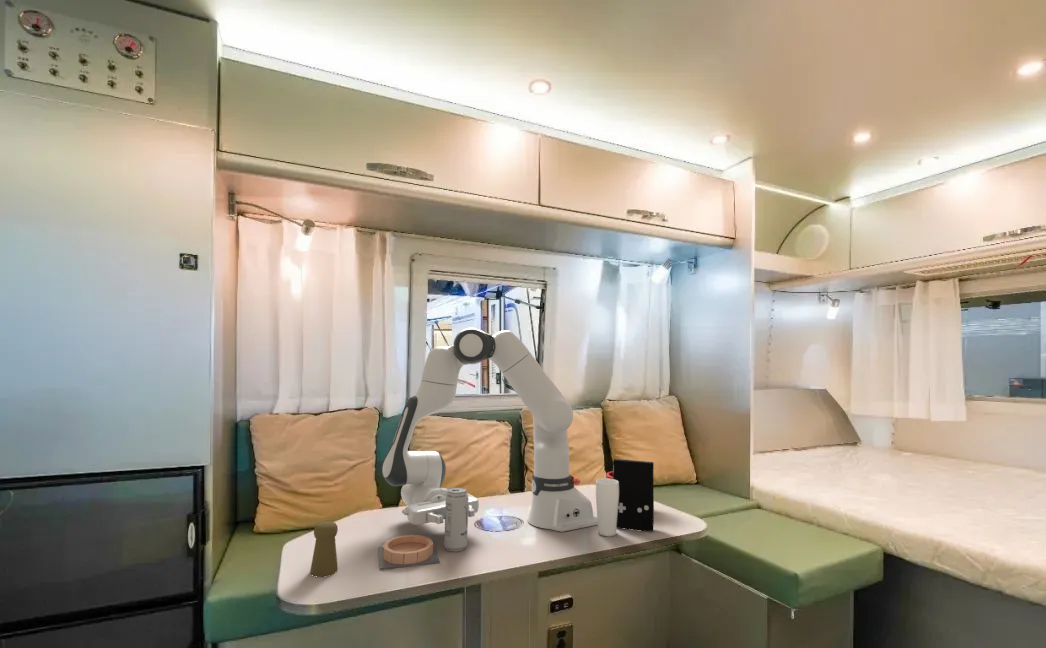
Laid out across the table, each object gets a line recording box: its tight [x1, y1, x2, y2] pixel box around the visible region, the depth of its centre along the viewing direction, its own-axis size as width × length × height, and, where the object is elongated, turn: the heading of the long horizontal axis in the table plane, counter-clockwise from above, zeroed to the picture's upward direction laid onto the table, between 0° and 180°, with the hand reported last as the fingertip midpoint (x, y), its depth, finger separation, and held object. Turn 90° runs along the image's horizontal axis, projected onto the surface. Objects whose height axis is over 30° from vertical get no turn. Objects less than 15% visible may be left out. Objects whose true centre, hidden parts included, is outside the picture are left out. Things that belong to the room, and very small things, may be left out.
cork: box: [309, 521, 339, 578], centre depth 112 cm, size 6×6×11 cm
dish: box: [377, 534, 441, 571], centre depth 121 cm, size 14×13×3 cm
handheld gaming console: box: [612, 458, 655, 532], centre depth 145 cm, size 12×5×20 cm, turn 72°
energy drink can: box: [444, 487, 469, 552], centre depth 127 cm, size 6×6×15 cm
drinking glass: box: [595, 477, 619, 537], centre depth 139 cm, size 7×7×15 cm
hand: (457, 517), depth 127 cm, fingers open, 8 cm apart
